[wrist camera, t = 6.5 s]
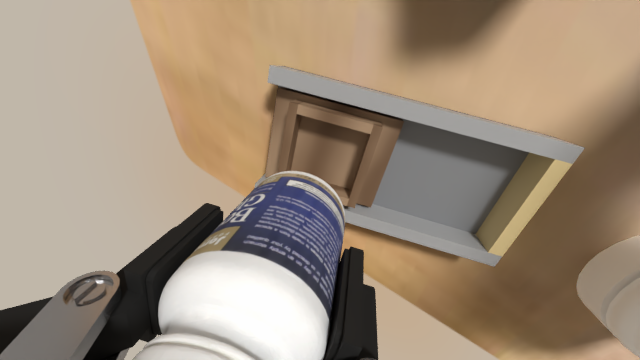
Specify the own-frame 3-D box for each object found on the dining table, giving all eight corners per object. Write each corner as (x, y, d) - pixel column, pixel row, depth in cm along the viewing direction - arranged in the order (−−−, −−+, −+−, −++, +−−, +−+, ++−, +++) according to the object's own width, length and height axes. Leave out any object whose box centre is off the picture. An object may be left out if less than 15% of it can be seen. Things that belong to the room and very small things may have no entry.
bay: (549, 135, 22) (585, 147, 19) (477, 241, 28) (494, 266, 24) (284, 66, 24) (269, 65, 20) (267, 180, 29) (253, 194, 26)
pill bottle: (275, 148, 12) (48, 341, 3) (364, 201, 13) (364, 497, 4) (240, 221, 15) (51, 446, 6) (316, 263, 15) (246, 537, 6)
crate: (401, 118, 23) (408, 126, 19) (370, 200, 27) (371, 218, 24) (282, 86, 24) (269, 89, 20) (270, 171, 28) (257, 184, 24)
